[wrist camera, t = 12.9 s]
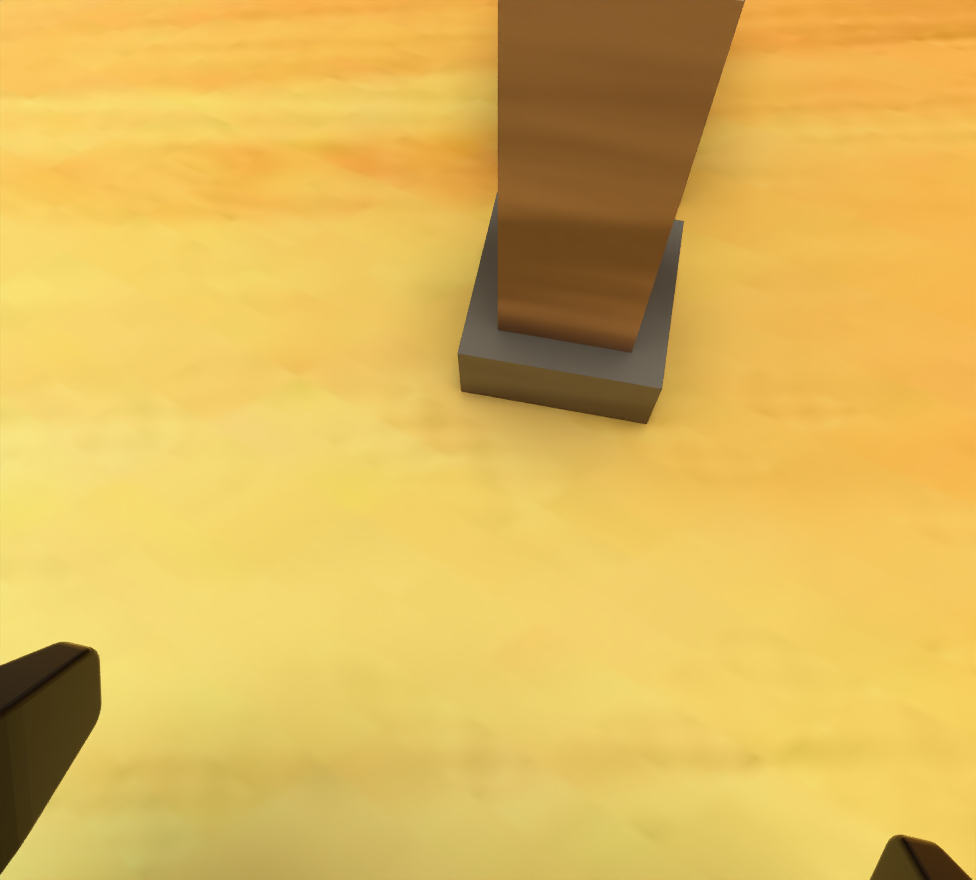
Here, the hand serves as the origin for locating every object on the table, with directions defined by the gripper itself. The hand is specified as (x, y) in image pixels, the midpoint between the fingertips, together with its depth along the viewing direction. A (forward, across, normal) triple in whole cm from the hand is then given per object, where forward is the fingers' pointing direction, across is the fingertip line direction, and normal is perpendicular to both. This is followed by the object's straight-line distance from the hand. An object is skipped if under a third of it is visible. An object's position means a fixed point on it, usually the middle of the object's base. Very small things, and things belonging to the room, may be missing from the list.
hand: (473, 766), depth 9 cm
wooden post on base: (+19, 0, -1) cm, 19 cm away
